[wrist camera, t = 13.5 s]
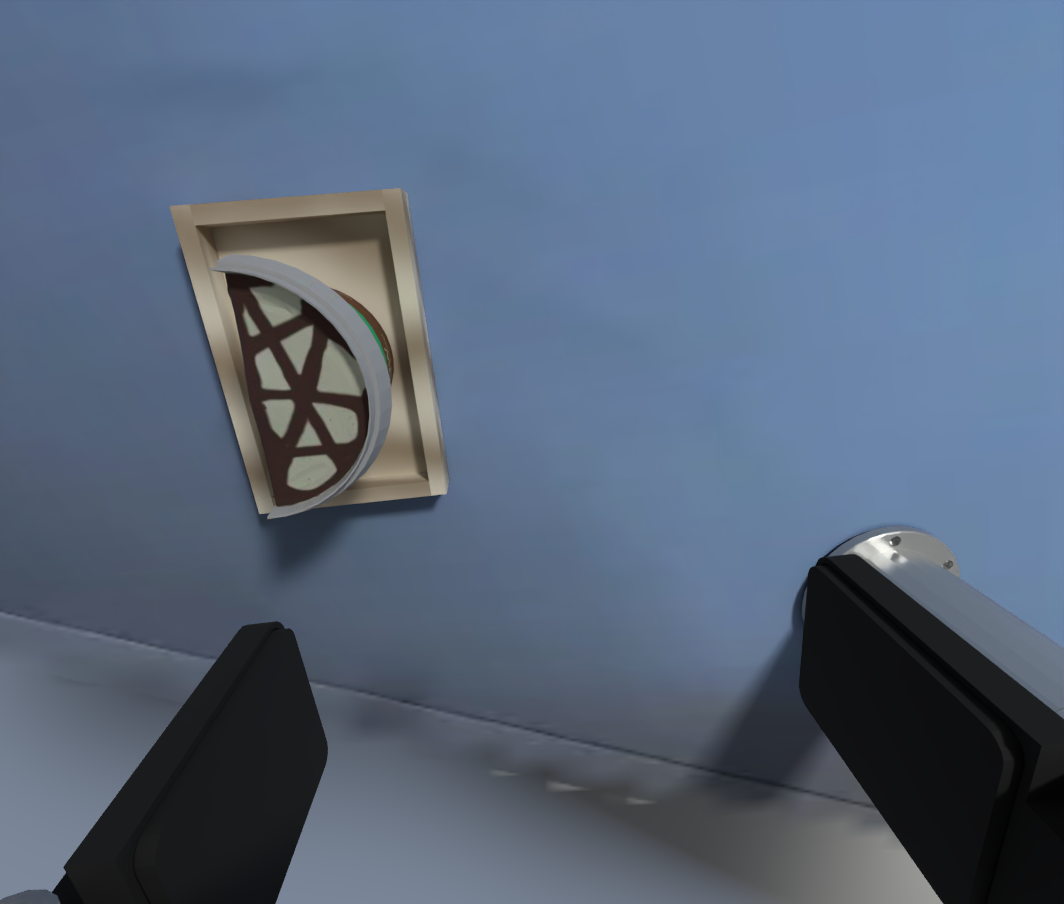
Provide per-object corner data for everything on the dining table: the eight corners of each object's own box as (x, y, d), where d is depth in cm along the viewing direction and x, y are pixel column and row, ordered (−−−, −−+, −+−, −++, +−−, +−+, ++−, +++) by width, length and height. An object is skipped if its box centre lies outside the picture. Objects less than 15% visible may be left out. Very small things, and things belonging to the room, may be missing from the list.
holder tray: (449, 479, 37) (446, 494, 34) (274, 497, 36) (259, 514, 34) (407, 194, 30) (400, 188, 28) (194, 210, 30) (169, 206, 27)
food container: (422, 450, 35) (399, 520, 25) (328, 456, 34) (269, 529, 25) (401, 252, 31) (364, 249, 21) (292, 256, 30) (206, 253, 21)
